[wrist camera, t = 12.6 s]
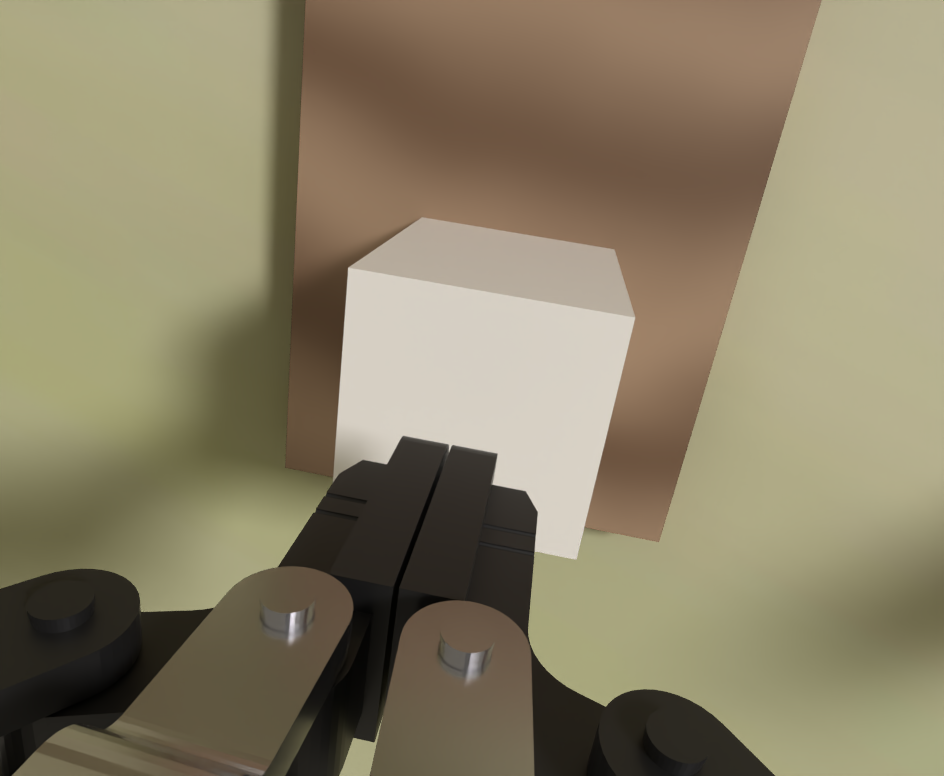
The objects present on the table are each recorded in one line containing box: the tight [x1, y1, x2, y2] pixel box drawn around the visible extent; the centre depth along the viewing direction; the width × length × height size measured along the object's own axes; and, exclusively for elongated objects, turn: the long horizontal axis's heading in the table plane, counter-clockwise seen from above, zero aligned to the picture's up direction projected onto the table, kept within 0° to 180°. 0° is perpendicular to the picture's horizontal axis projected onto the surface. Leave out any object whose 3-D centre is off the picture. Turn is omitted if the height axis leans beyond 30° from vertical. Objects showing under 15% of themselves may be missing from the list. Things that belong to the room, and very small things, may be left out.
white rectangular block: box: [333, 217, 635, 559], centre depth 16 cm, size 5×5×7 cm
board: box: [285, 0, 821, 542], centre depth 18 cm, size 23×12×2 cm, turn 172°
